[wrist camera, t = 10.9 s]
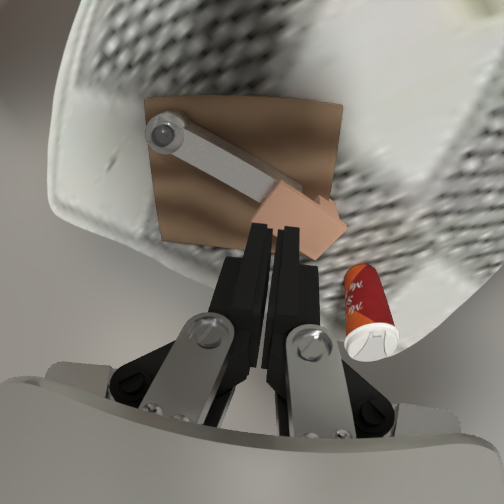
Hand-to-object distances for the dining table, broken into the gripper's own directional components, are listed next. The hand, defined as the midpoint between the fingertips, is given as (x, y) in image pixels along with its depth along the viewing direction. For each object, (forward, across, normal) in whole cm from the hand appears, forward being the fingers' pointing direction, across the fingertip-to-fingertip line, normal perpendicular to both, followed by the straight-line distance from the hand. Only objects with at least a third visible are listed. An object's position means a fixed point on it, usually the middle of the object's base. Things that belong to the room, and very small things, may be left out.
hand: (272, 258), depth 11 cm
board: (+27, +6, +9) cm, 29 cm away
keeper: (+27, -2, +11) cm, 29 cm away
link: (+26, +7, +6) cm, 27 cm away
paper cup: (+27, -14, +24) cm, 39 cm away
